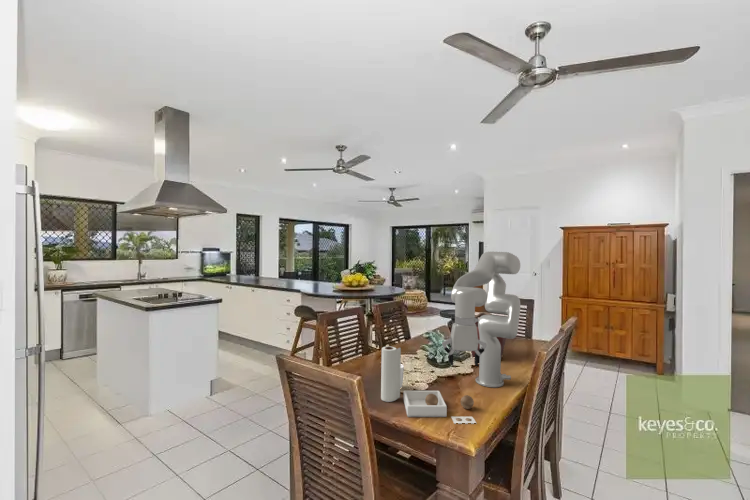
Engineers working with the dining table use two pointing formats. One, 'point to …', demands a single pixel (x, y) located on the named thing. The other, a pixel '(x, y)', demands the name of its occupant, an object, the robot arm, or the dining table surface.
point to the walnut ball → (467, 402)
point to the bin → (423, 404)
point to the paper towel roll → (390, 373)
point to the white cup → (401, 375)
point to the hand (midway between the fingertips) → (463, 364)
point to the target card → (463, 420)
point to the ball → (431, 399)
